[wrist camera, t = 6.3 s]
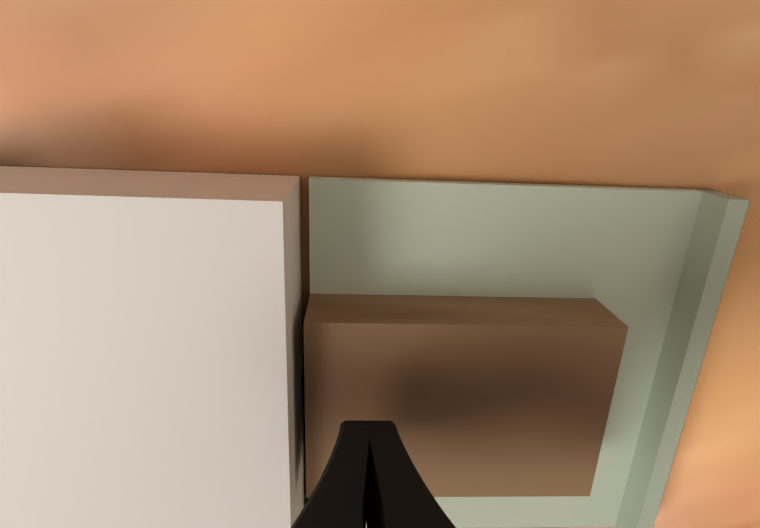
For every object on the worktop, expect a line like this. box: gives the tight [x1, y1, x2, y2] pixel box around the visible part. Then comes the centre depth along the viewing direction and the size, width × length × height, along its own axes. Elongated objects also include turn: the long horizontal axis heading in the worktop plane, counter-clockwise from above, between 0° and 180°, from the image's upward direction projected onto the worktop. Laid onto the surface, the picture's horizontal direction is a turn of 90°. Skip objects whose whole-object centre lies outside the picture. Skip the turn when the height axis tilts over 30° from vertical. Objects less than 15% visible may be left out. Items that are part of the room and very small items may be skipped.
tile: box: [304, 294, 629, 498], centre depth 15 cm, size 6×9×2 cm, turn 88°
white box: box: [0, 166, 304, 528], centre depth 14 cm, size 13×10×4 cm
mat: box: [309, 176, 750, 528], centre depth 16 cm, size 13×12×2 cm
